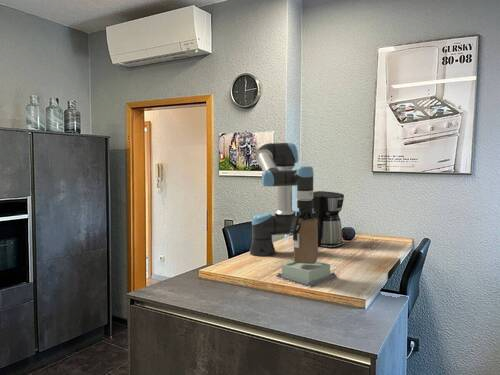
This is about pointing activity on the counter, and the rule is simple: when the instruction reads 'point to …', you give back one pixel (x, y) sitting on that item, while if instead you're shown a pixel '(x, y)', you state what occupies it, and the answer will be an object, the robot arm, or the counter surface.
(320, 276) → the plate
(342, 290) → the counter surface
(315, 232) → the block
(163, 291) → the counter surface
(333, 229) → the coffee maker
